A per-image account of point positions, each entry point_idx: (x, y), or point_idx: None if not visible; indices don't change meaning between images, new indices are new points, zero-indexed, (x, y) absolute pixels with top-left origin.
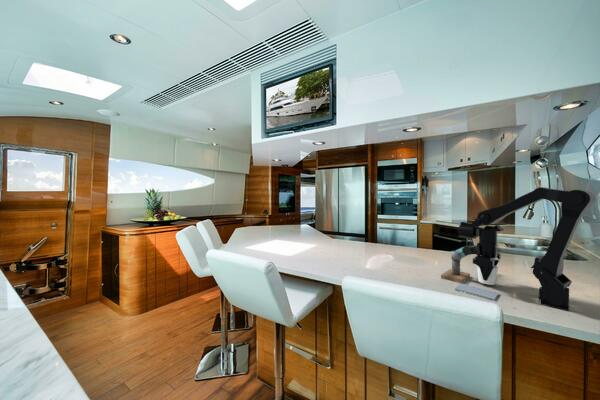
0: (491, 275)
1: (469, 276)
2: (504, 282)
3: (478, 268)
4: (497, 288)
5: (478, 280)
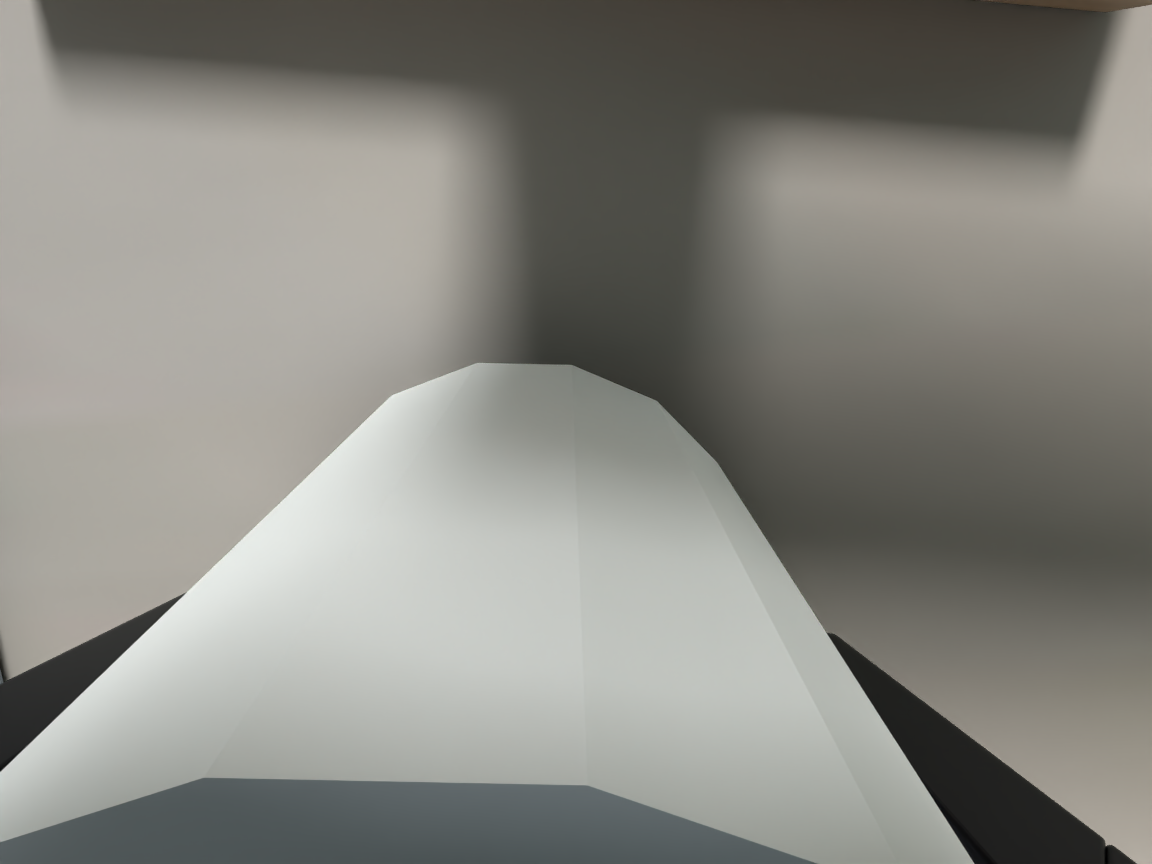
0: None
1: (1049, 2)
2: (1068, 800)
3: (78, 698)
4: None
5: (434, 383)
